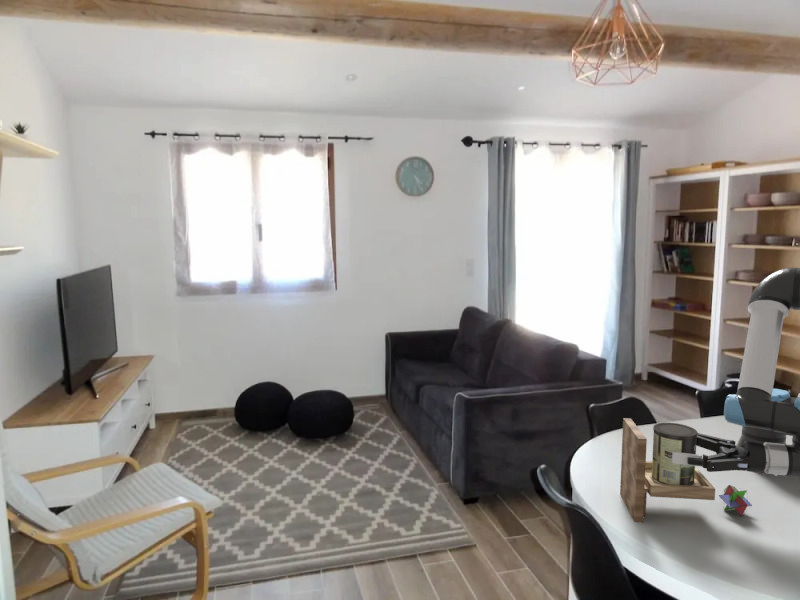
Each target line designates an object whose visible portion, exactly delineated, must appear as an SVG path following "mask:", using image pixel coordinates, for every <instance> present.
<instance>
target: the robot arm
mask: <svg viewBox="0 0 800 600" xmlns="http://www.w3.org/2000/svg"><path fill="white" fill-rule="evenodd" d="M790 310H795V311H800V267H786V268H785V267H784V268H781V269H779V270H776V271H774V272H772V273H771V274H769V275H768V276H766V277H765V278H763V279H762V280H761V281H760V282H759V283H758V285H756V287H755V288H754V289H753V291H752V293H751V295H750V297H749V299H748V306H747V311H748V313H749V314H750V318H749V322H748V323H749V324H748V329H747V334H746V340H745V346H744V351H743V357H742V362H741V369H740V375H739V379H738V380H739V381H738V385H737V392H736V394H735V393H734V394H733V393H732V394H728V395H727V396H726V397H725V401H724V407H723V416H724V420H725V421H727V423H730V424H734V425H737V426H741V435H740V438H739V439H738V441H737V442H736V441H735V440H734V439H733V440H732V439H725V438H721V437H717V436H713V435H708V434H703V433H700V432H699V433H698V435H697V442H696V447H699V448H703V449H705V450H707V451H711V452H713V453H715V454H711V455H707V454H697V453H696V454H689V453H680V452H672V463H675V464H683V465H692V466H695V467H701V468H703V469H706V471H707V472H709V473H711V472H712V473H713V472H715V473H716V472H730V471H744V472H750V473H751V472H752V473H757V474H758V473H759V474H763V473H764V472H765V474H770V475H773V476H774V477H778V475H779V476H785V477H794V478H800V392H799V393H798V395H797V397H792V396H791V394H790V392H789V391H787V390H786V389H785V390H784V389H780V388H774V385H775V379H776V371H777V364H778V357H779V351H780V344H781V343H780V342H781V339H782V338H781V336H782V330H783V324H784V319H785V318H787V317H788V316H789V314H790ZM787 436H791V437H792V438H791V442H792V444H787Z"/></svg>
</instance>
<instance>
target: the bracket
mask: <svg viewBox="0 0 800 600" xmlns="http://www.w3.org/2000/svg"><path fill="white" fill-rule="evenodd" d="M647 439H648V438H647V437H646V435H644V434H643V432H642V431H641V430H640V428H639V427H638V426H637V425H636V423H635V422H634V421H633V418H630V417H629V418H627V417H625V418H624V417H623V419H622V439H621V440H622V442H621V461H620V462H621V465H620V488H619V493H620V496H621V498H622V500H623V502H624V504H625V506H626V508H627V510H628V511H629V514H630V516H631V518H632V519H633V521H634V523H644V519H645V518H647V517H646V516H647V514H646V513H647V495H649V496H650V497H653V498H667V499H669V498H670V499H685V500H687V499H688V500H704V501H706V500H707V501H716V488H715V487H714V485H712V483H711V482H710V481H709V480H708V479H707V478H706V476H704V474H703V473H702V472H701V471H700V470H699V469H698V468H697V466H695V477H694V486H689V485H670V484H657V483H656V482H654V481H653V480H652V478H651V475H652V460H647V441H648V440H647Z"/></svg>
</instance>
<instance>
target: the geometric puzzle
mask: <svg viewBox="0 0 800 600" xmlns="http://www.w3.org/2000/svg"><path fill="white" fill-rule="evenodd" d="M739 489H741V490H738V489H737V487H735V486H733V485H731V484H728V485H727V486H726V487H725V488H724V489H723V494H720V495H718V497H719V499H720V500H722V501H723V503H724V504H725V505H726V506H725V507H722V508H723V510H724V511H726V512H729V513H732V512H730V511H729V510H732V511H734V512H735V513H732V514H733V515H740V517H743V516H744V515H745V514H746V512H747V507H752V506H753V504H752V502H751V501H749V500H748V498H747V497H745V495H746V494H747V492H748V490H747V489H744V490H742V488H739ZM750 502H751V503H750ZM745 511H746V512H745Z"/></svg>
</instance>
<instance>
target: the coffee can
mask: <svg viewBox="0 0 800 600" xmlns="http://www.w3.org/2000/svg"><path fill="white" fill-rule="evenodd" d="M652 429H653V434H652V435H653V439H652V440H653V441H652V460H651V461H652V475H651V478H652V480H653V481H654V482H656V483H657V484H670V485H689V486H694V477H695V467H696V466H692V465H683V464H675V463H672V452H680V453H689V454H697V446H696V442H697V435H698V430H696V429H695V428H694V427H691V426H688V425H686V424H683V423H682V424H681V423H677V422H658V423H655V424H654V425H652Z"/></svg>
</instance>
